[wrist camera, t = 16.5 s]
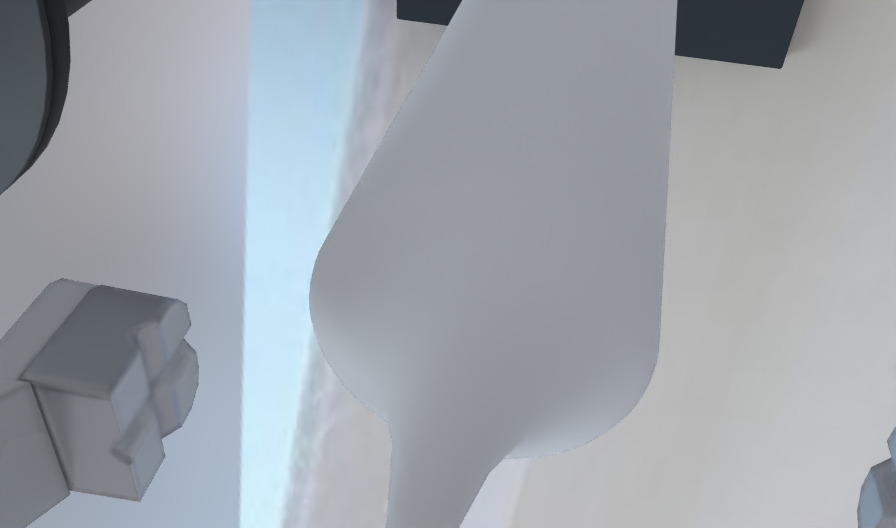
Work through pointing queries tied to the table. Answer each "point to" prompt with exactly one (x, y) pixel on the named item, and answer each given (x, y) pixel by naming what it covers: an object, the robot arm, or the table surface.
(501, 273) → the candle
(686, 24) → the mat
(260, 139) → the table surface
